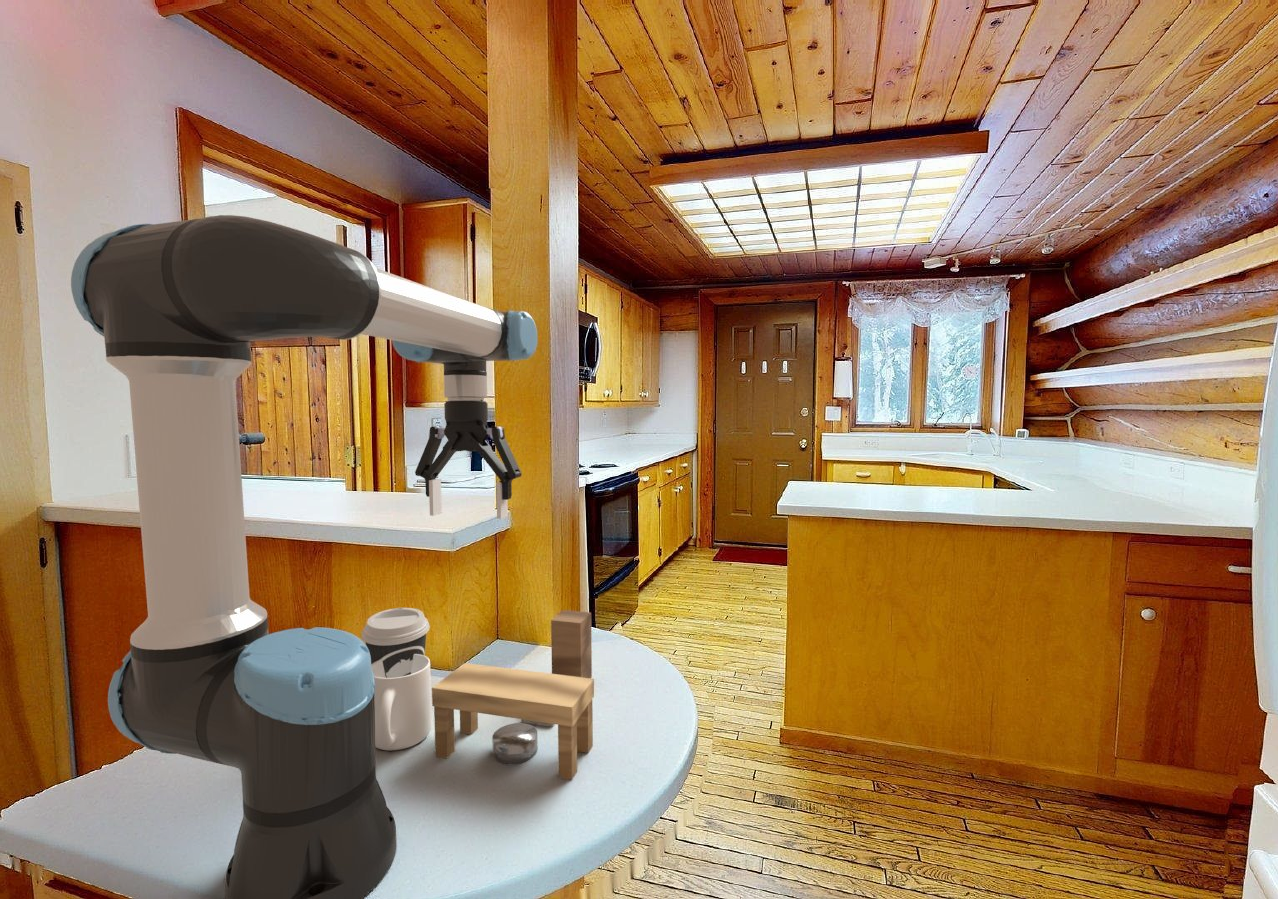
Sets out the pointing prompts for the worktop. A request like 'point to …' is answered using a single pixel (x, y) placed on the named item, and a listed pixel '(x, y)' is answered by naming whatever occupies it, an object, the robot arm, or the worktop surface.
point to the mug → (402, 705)
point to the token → (515, 743)
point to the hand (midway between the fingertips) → (468, 516)
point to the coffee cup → (396, 639)
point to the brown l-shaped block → (570, 647)
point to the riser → (516, 706)
